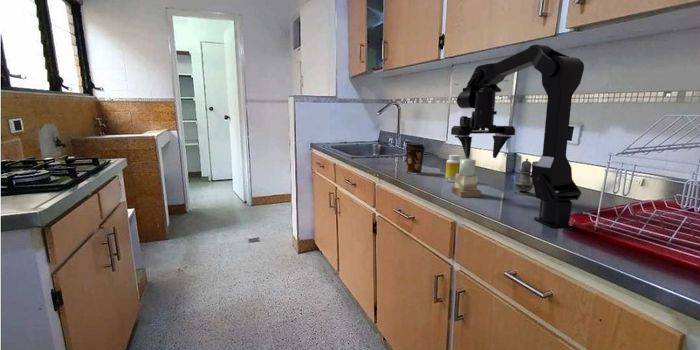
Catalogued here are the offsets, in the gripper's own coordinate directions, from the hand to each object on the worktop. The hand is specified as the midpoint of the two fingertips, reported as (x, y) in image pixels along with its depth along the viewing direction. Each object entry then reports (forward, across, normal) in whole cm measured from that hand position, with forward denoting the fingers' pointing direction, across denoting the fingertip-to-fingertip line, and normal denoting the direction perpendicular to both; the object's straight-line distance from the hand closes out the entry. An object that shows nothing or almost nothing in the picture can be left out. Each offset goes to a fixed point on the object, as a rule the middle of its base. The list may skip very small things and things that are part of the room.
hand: (480, 158), depth 106 cm
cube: (+11, +3, -4) cm, 11 cm away
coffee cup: (+12, +7, -42) cm, 44 cm away
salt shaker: (+13, -17, -2) cm, 22 cm away
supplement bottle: (+12, -3, -24) cm, 27 cm away
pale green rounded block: (+6, +3, -3) cm, 7 cm away
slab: (+13, +3, -3) cm, 14 cm away
